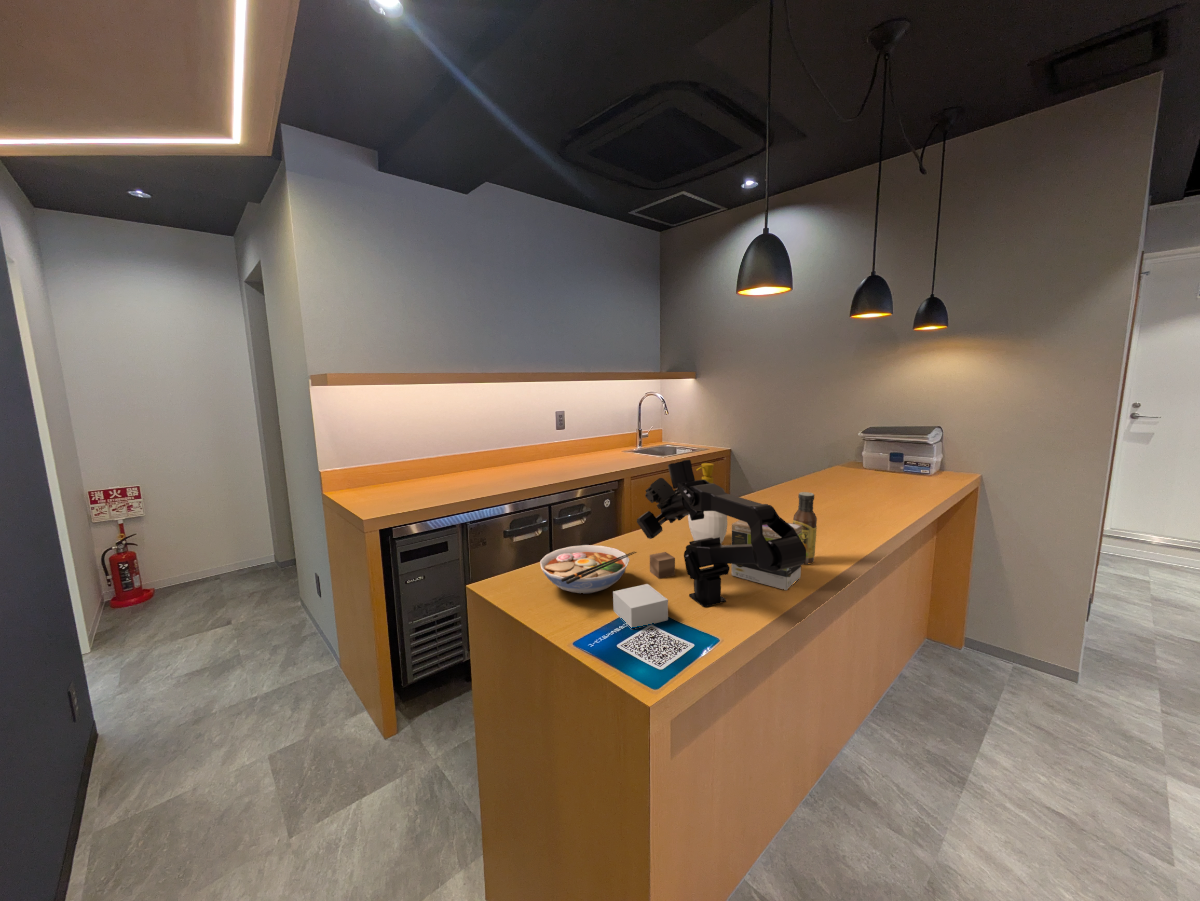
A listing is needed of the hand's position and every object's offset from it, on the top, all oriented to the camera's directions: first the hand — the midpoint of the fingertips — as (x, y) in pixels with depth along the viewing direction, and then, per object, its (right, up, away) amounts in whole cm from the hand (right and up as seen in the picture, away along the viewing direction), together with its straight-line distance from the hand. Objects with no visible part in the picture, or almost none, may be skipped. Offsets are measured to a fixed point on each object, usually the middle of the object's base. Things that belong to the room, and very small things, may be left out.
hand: (654, 515), depth 132 cm
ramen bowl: (-19, -17, -12) cm, 28 cm away
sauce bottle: (+43, -13, +1) cm, 45 cm away
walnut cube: (+2, -15, -4) cm, 16 cm away
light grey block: (-6, -19, -27) cm, 33 cm away
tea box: (+28, -15, -9) cm, 33 cm away
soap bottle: (+19, -12, +17) cm, 28 cm away
